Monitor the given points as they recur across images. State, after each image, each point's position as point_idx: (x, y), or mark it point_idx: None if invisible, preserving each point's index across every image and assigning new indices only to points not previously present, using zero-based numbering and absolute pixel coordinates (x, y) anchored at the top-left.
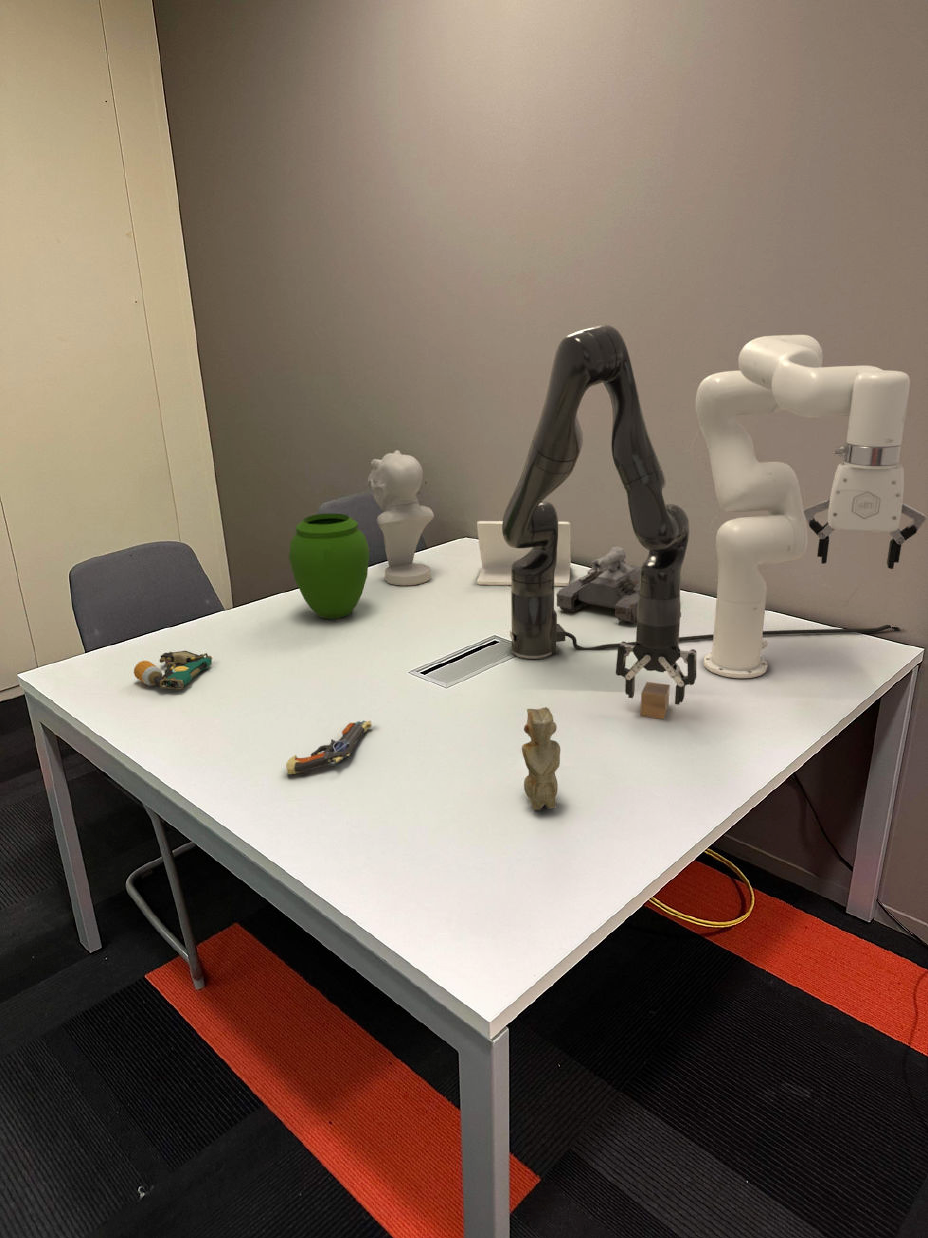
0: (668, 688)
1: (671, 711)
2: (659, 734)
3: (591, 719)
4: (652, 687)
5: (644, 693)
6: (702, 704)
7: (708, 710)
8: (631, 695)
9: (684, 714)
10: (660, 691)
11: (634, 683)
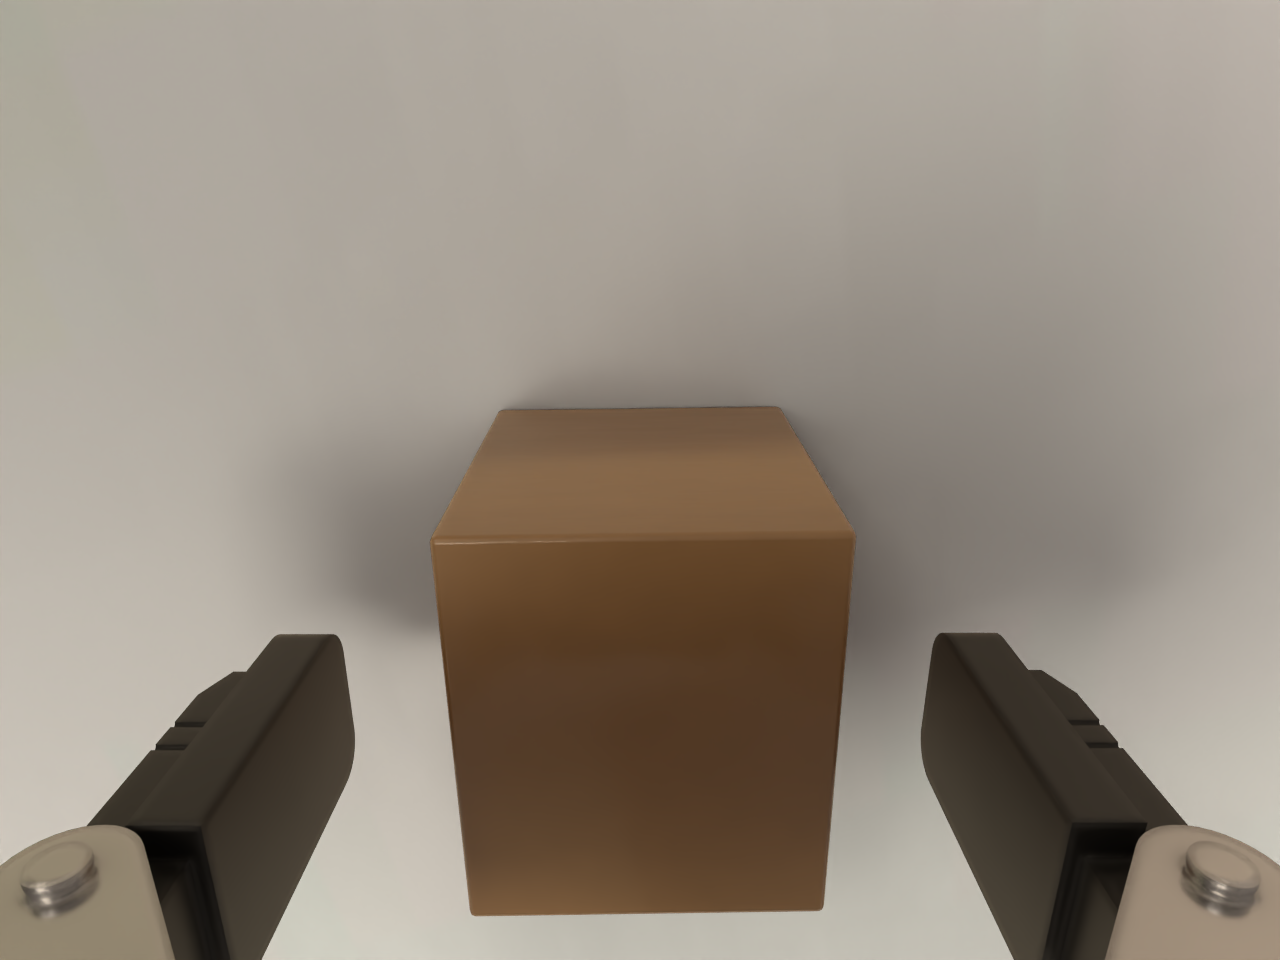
0: (844, 662)
1: None
2: (761, 936)
3: None
4: (584, 721)
5: (514, 912)
6: (1208, 165)
7: (1265, 320)
8: (332, 794)
9: (973, 511)
10: (732, 803)
11: (266, 751)
